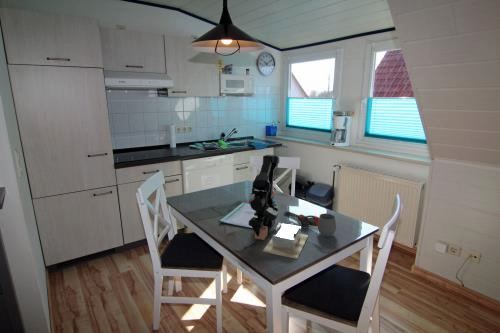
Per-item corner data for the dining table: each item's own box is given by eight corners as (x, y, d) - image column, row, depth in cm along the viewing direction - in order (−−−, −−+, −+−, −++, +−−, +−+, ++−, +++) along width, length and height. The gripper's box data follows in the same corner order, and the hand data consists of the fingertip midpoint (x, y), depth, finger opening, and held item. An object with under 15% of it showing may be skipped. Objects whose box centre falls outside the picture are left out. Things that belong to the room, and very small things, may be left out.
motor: (282, 231, 153) (282, 218, 151) (302, 235, 149) (302, 221, 148) (271, 247, 138) (272, 232, 136) (293, 251, 134) (294, 236, 132)
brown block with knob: (258, 233, 153) (258, 222, 151) (267, 235, 151) (267, 223, 149) (254, 238, 149) (254, 226, 147) (264, 240, 147) (264, 227, 145)
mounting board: (277, 231, 156) (277, 229, 155) (308, 236, 149) (308, 235, 149) (263, 251, 136) (263, 250, 136) (297, 259, 130) (297, 257, 130)
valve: (330, 227, 163) (312, 232, 154) (296, 215, 184) (278, 217, 174) (331, 216, 163) (313, 220, 153) (297, 205, 183) (279, 207, 174)
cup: (321, 228, 158) (322, 211, 156) (338, 233, 152) (339, 215, 150) (313, 235, 151) (314, 217, 149) (330, 240, 145) (332, 222, 143)
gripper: (270, 212, 134) (270, 243, 138) (282, 198, 151) (282, 226, 154) (248, 209, 138) (248, 239, 142) (262, 196, 155) (262, 223, 159)
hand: (261, 231), depth 149 cm, fingers open, 9 cm apart
